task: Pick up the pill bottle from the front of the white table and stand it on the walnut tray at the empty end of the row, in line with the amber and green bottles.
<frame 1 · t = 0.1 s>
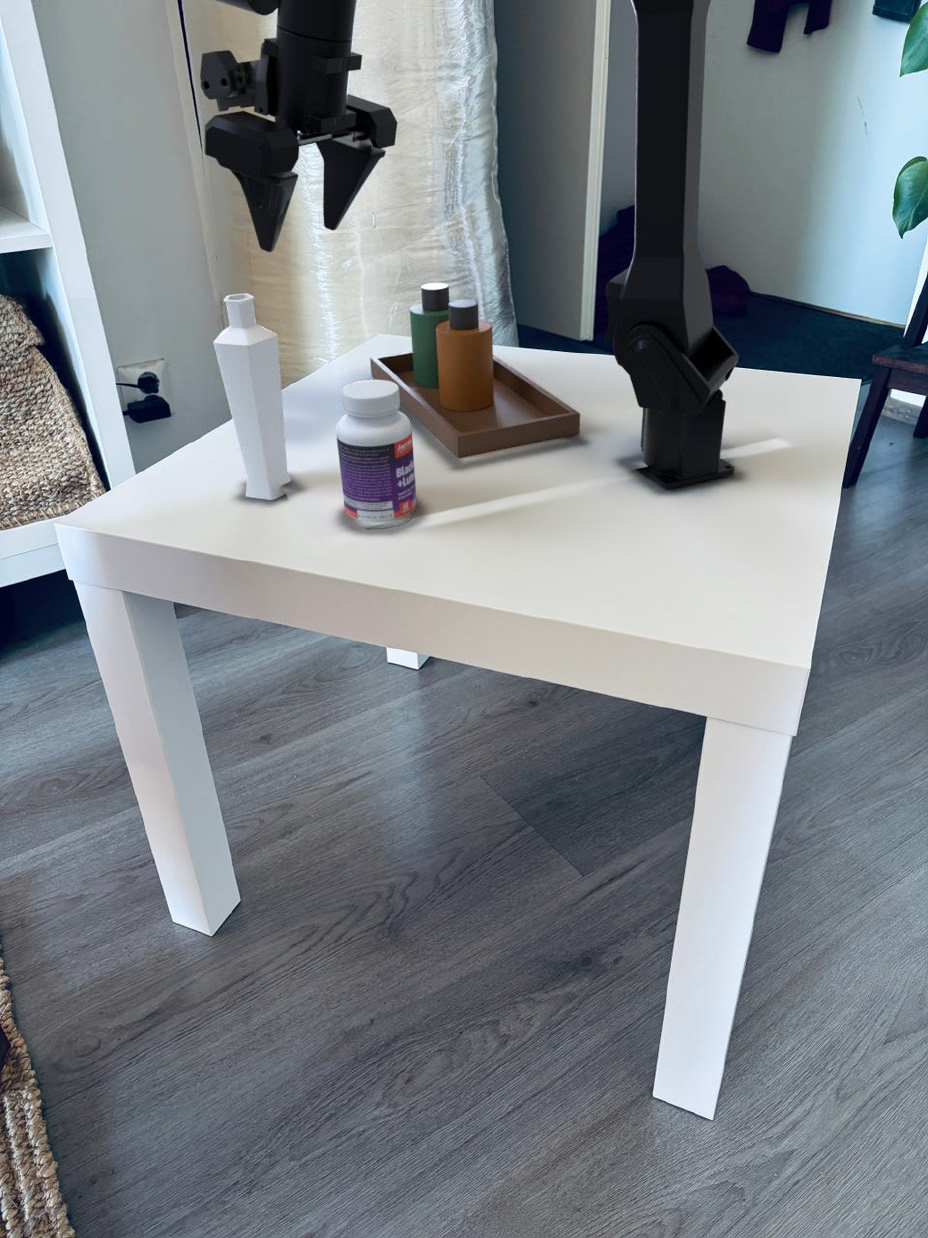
hand: (299, 239, 82), 15 cm above the table, tool pointing down, fingers open, 9 cm apart
tray: (467, 410, 90), on the table
perfume bottle: (271, 490, 77), on the table
pill bottle: (382, 516, 72), on the table
green bottle: (439, 379, 95), point 1 cm above the table, touching tray
amber bottle: (466, 401, 89), point 1 cm above the table, touching tray
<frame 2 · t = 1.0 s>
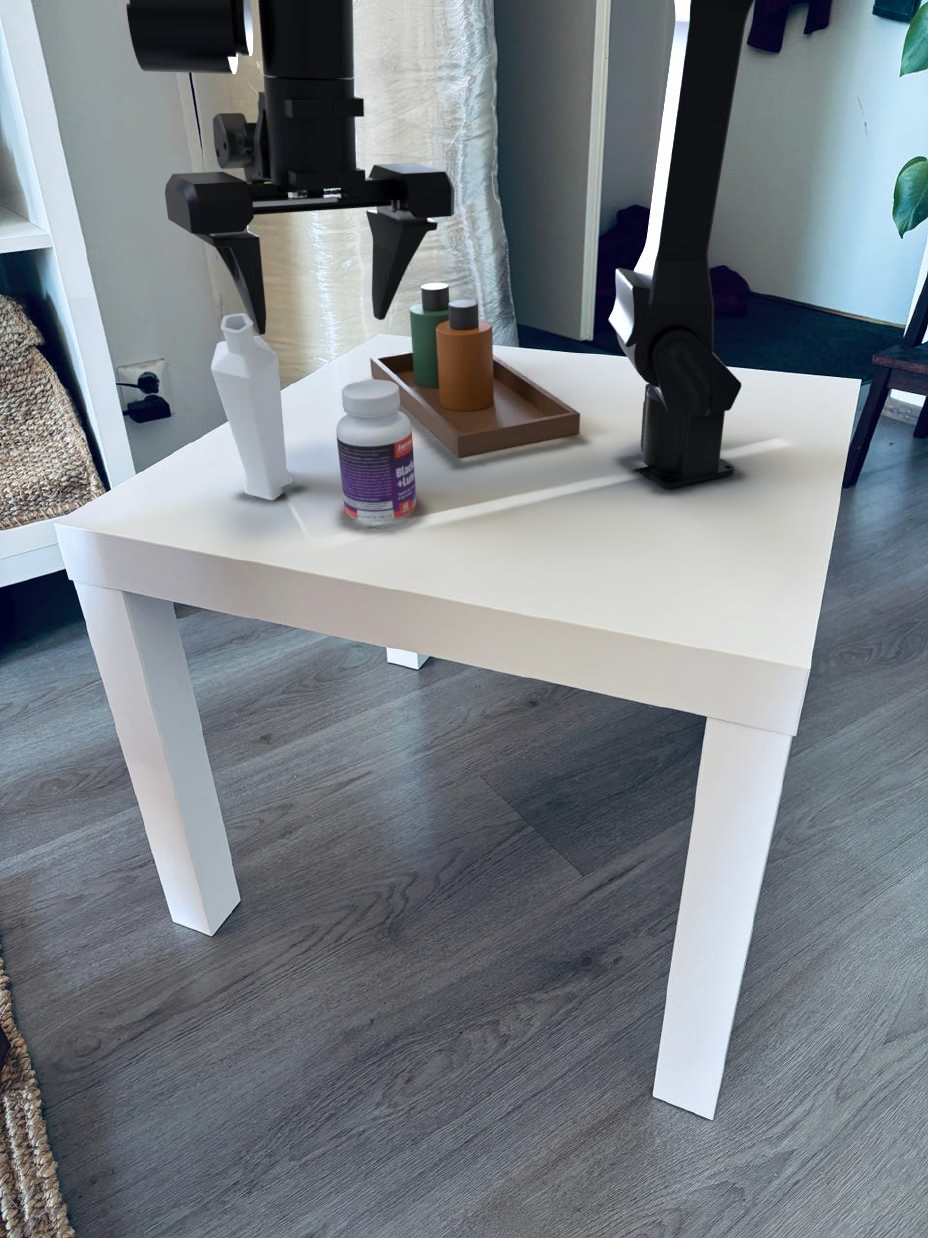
hand: (321, 325, 69), 13 cm above the table, tool pointing down, fingers open, 9 cm apart
perfume bottle: (269, 482, 76), point 1 cm above the table, touching gripper
everything else where it was.
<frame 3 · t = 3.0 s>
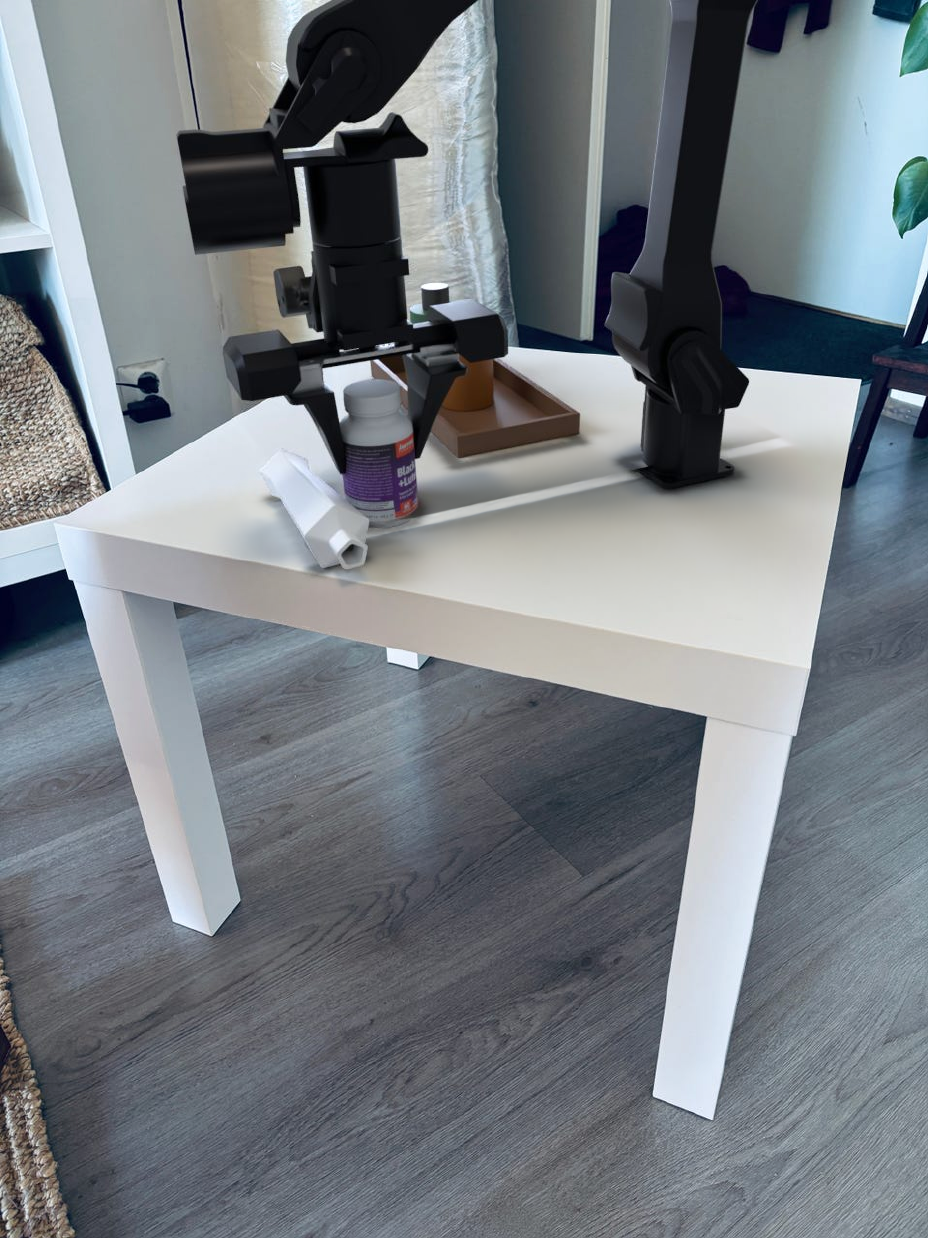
hand: (379, 464, 70), 4 cm above the table, tool pointing down, fingers closed on pill bottle, 5 cm apart
perfume bottle: (286, 470, 74), point 2 cm above the table
pill bottle: (383, 516, 72), on the table, touching gripper
everything else where it was.
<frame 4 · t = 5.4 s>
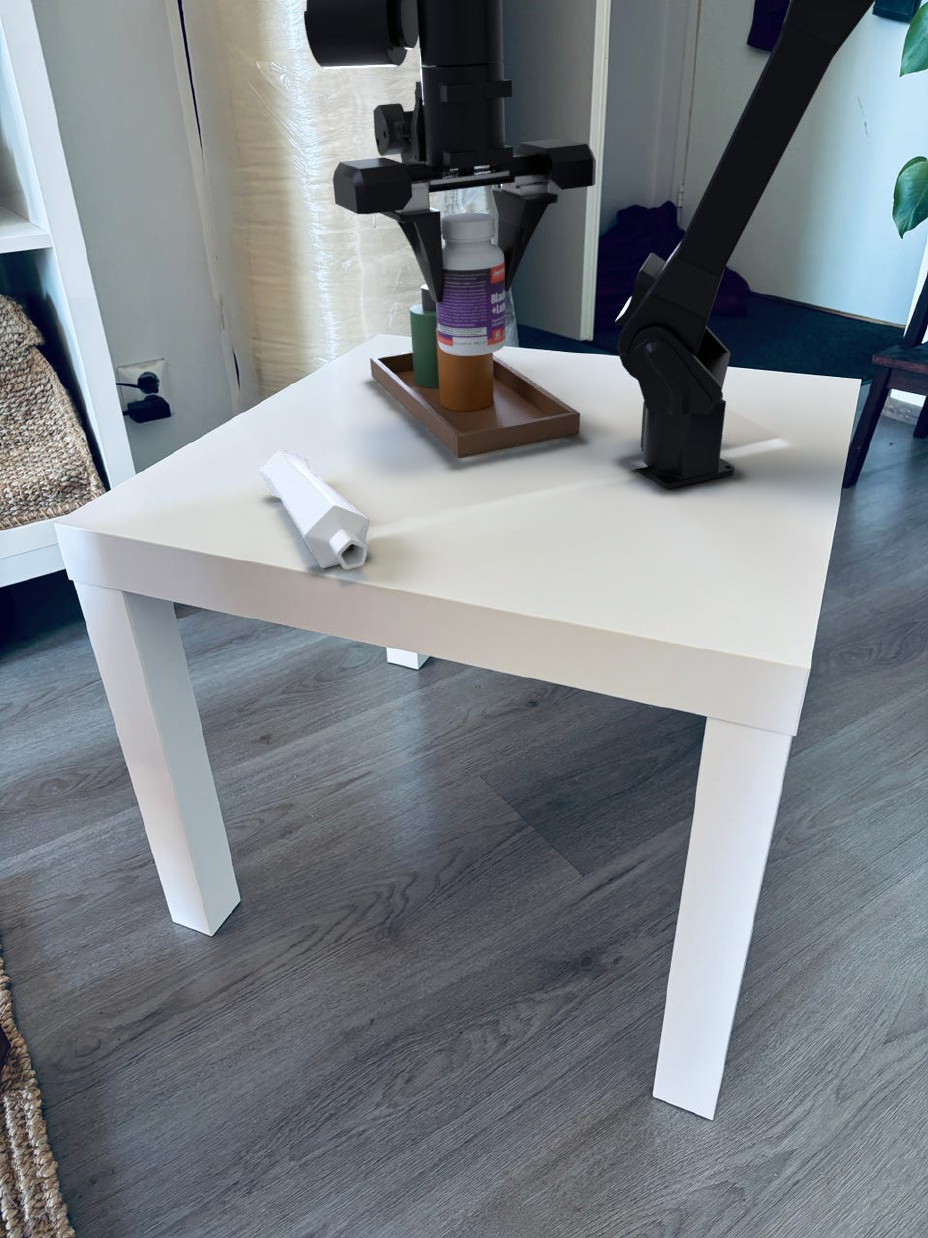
hand: (471, 295, 74), 13 cm above the table, tool pointing down, fingers closed on pill bottle, 5 cm apart
pill bottle: (472, 349, 77), point 9 cm above the table, touching gripper
everything else where it was.
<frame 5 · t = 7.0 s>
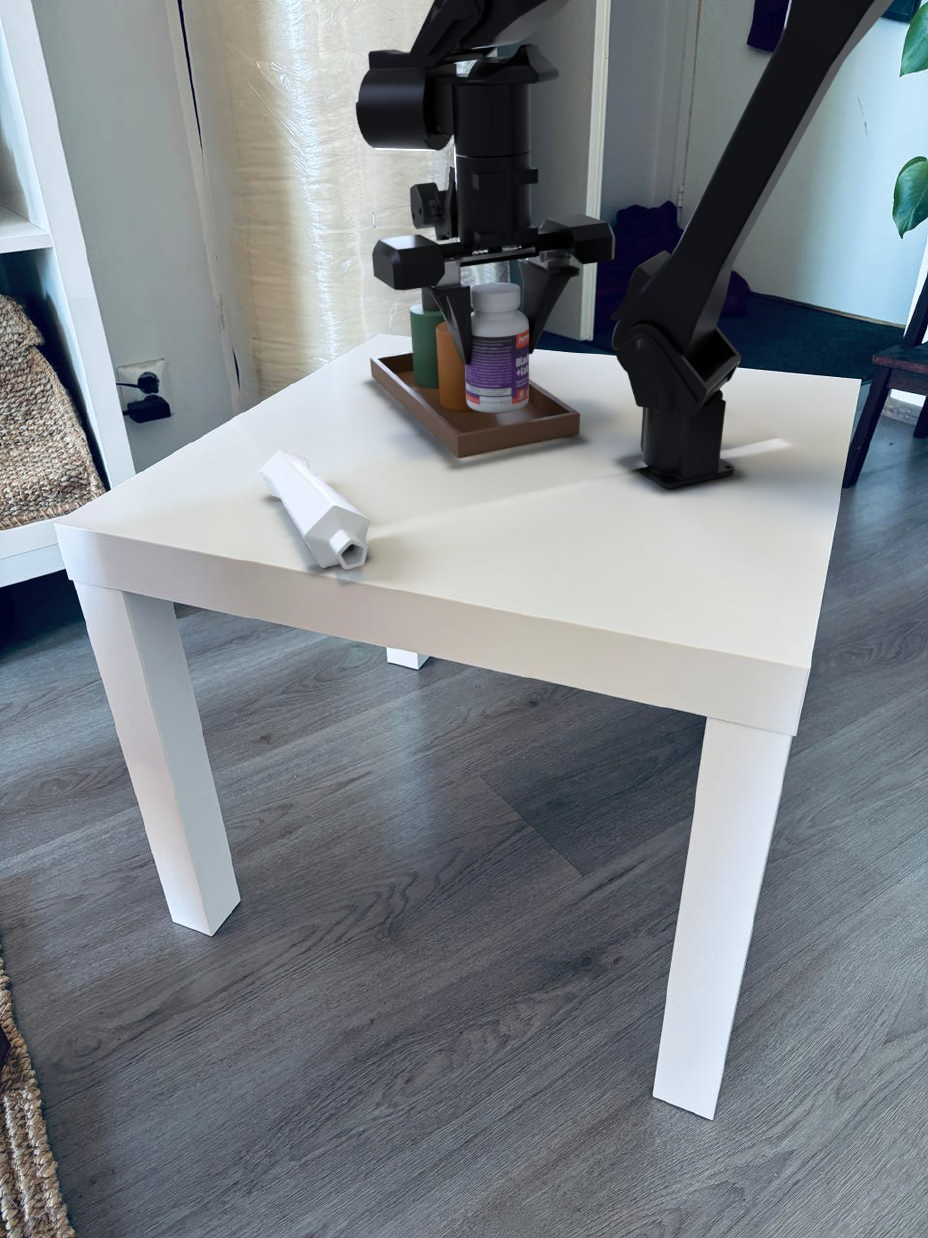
hand: (497, 358, 80), 7 cm above the table, tool pointing down, fingers closed on pill bottle, 5 cm apart
pill bottle: (497, 406, 83), point 3 cm above the table, touching gripper
everything else where it was.
when the fingers open (5 cm above the table, at t = 8.1 s): pill bottle stays where it is, resting on tray.
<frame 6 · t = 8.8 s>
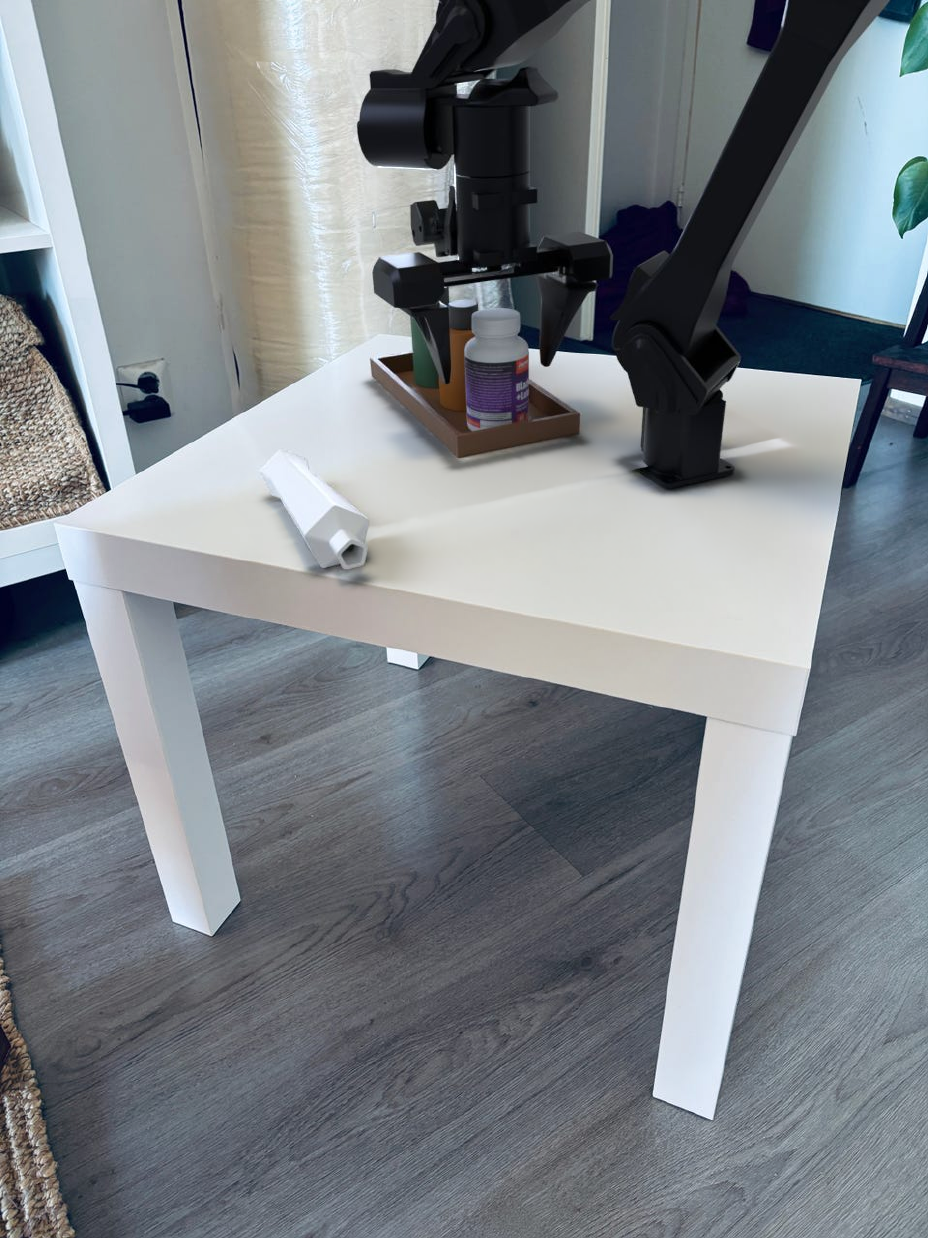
hand: (496, 373, 81), 6 cm above the table, tool pointing down, fingers open, 9 cm apart
pill bottle: (498, 429, 84), point 1 cm above the table, touching tray
everything else where it was.
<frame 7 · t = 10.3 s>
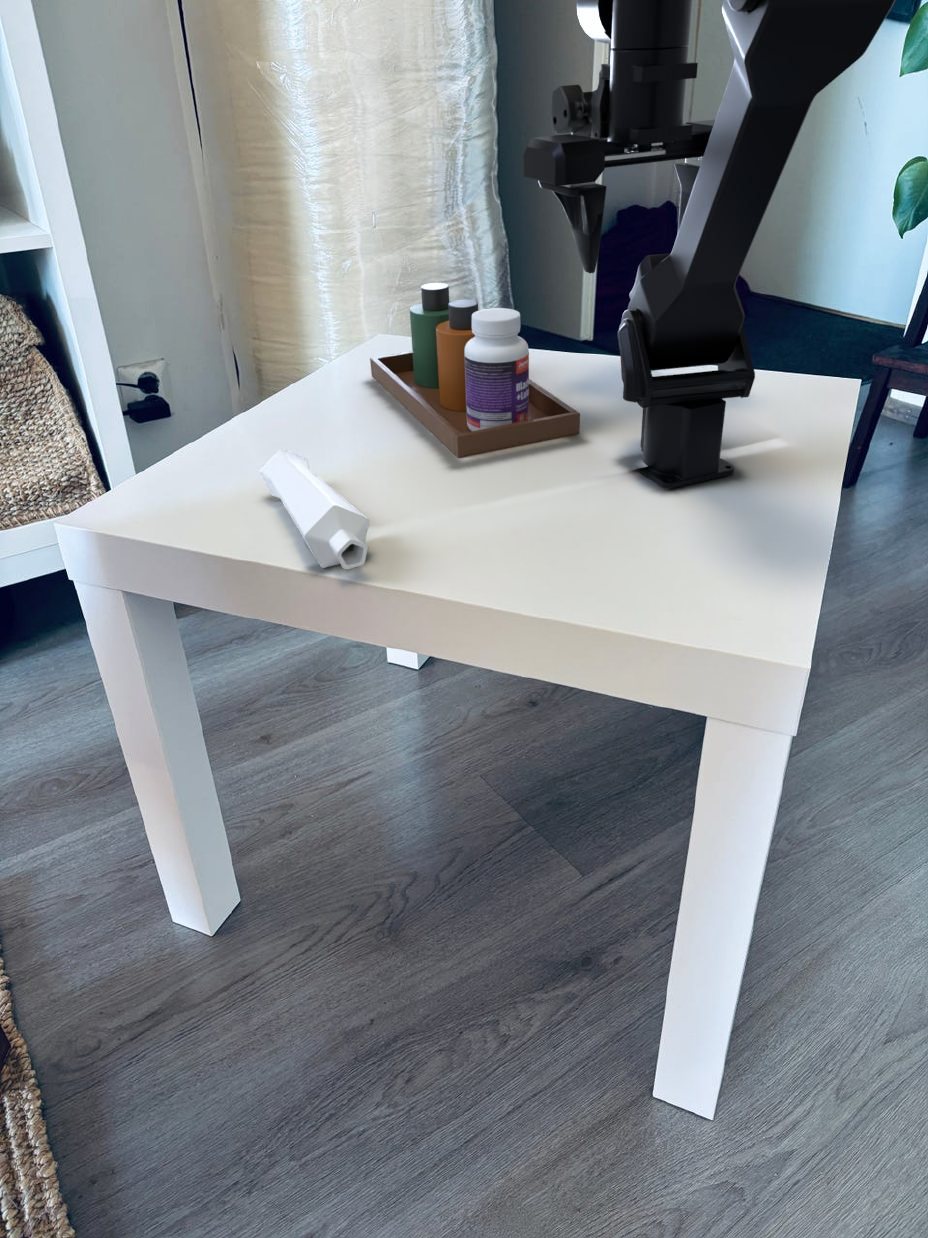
hand: (637, 264, 80), 13 cm above the table, tool pointing down, fingers open, 9 cm apart
nothing on the table moved.
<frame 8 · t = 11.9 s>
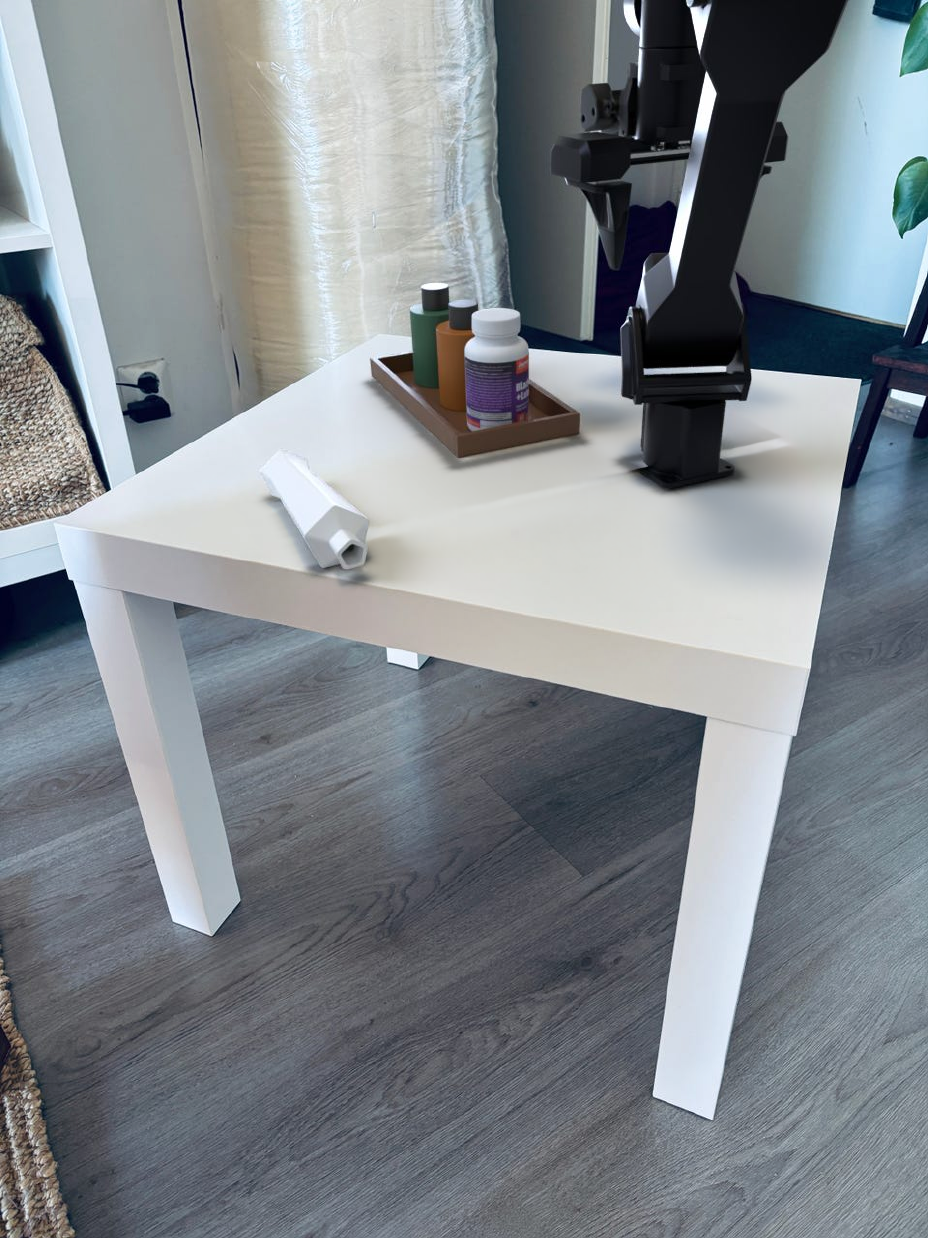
hand: (662, 262, 81), 13 cm above the table, tool pointing down, fingers open, 9 cm apart
nothing on the table moved.
at the end: pill bottle 0.0 cm from the target spot in the tray, point 0.6 cm above the tray's base; pill bottle 0.5 cm from the target spot on the table beside the green bottle, resting on tray; pill bottle tilted 0° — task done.
